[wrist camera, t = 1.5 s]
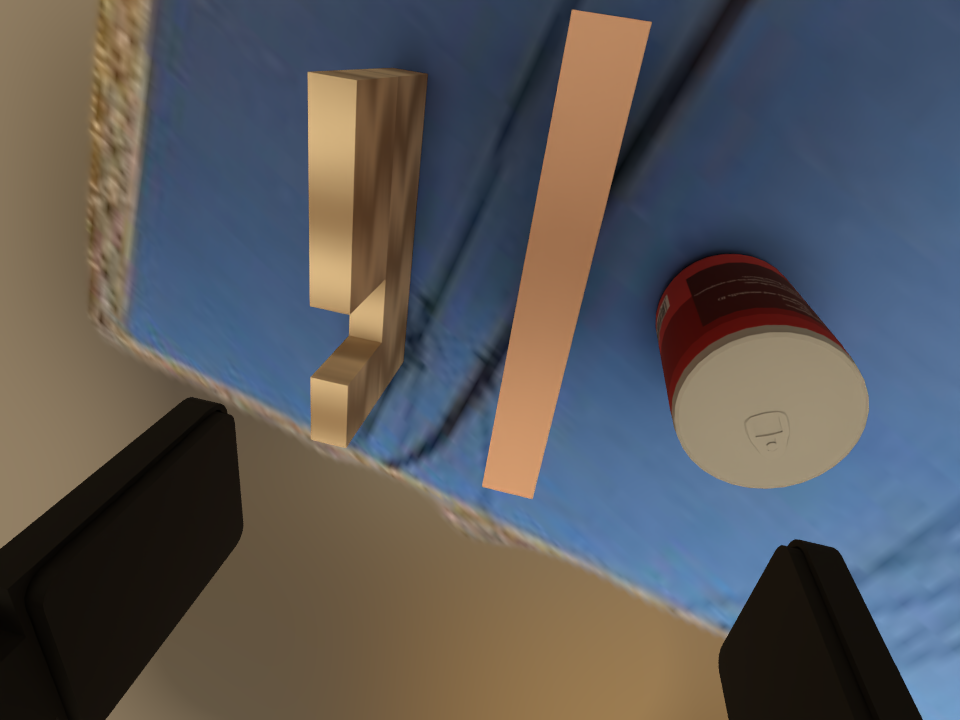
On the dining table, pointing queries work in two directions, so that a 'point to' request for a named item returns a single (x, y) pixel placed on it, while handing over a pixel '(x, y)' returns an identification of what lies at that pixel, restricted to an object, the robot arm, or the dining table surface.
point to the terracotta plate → (563, 237)
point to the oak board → (361, 232)
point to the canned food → (755, 375)
